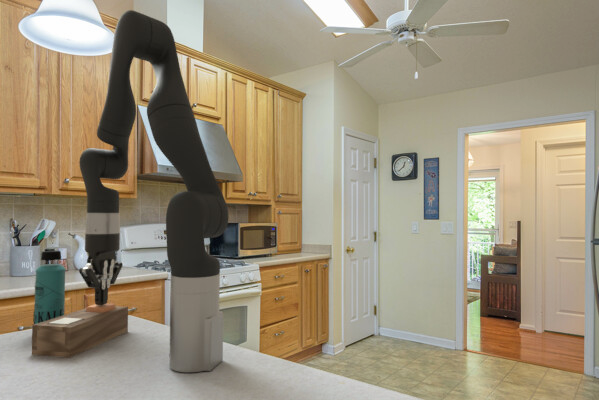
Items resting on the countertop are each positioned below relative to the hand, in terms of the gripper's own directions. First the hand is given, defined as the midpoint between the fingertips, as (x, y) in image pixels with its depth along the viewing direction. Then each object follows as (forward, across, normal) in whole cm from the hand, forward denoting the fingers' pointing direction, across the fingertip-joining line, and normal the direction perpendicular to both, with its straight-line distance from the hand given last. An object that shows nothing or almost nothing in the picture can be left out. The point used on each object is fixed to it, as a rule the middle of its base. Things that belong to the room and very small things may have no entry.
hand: (101, 304), depth 98 cm
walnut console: (+7, -6, 0) cm, 9 cm away
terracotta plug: (+5, 0, 0) cm, 5 cm away
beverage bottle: (+7, -2, +12) cm, 15 cm away
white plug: (+6, -11, 0) cm, 13 cm away
